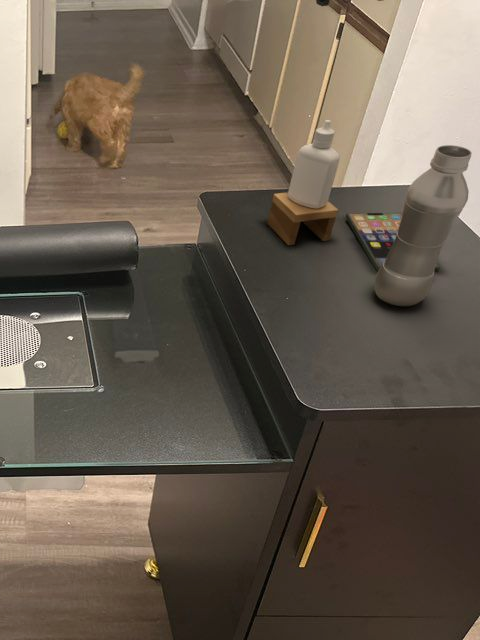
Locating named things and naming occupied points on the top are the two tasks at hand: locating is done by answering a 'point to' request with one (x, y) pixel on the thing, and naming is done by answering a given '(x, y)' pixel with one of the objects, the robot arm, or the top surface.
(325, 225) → the small wooden table
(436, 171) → the plastic bottle
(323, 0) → the robot arm
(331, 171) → the eye dropper bottle
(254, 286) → the top surface
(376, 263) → the smartphone
